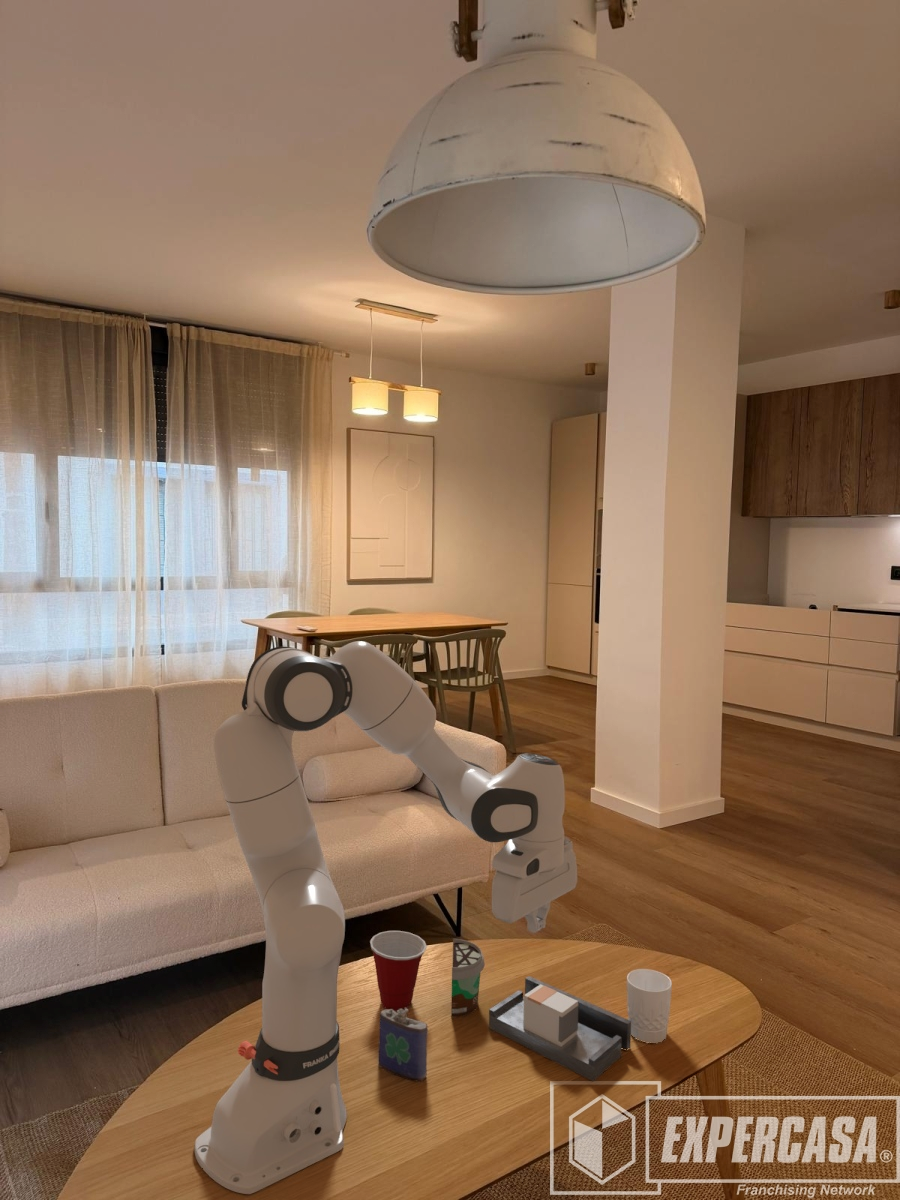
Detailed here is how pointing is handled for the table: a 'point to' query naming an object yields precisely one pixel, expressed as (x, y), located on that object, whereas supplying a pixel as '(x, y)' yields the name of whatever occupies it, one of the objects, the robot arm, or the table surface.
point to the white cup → (648, 1004)
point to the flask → (403, 1045)
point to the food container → (465, 977)
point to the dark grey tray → (580, 1054)
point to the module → (550, 1015)
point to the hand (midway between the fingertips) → (536, 929)
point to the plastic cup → (397, 966)
